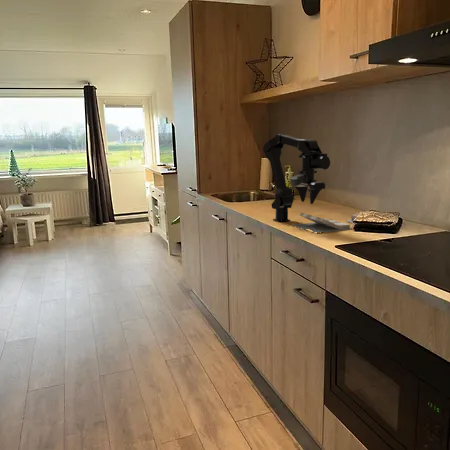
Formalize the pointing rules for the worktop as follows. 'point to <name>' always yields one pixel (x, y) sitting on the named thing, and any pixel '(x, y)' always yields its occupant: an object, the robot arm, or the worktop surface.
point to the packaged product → (353, 217)
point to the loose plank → (319, 220)
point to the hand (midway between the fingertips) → (307, 202)
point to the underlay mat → (318, 227)
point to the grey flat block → (339, 224)
